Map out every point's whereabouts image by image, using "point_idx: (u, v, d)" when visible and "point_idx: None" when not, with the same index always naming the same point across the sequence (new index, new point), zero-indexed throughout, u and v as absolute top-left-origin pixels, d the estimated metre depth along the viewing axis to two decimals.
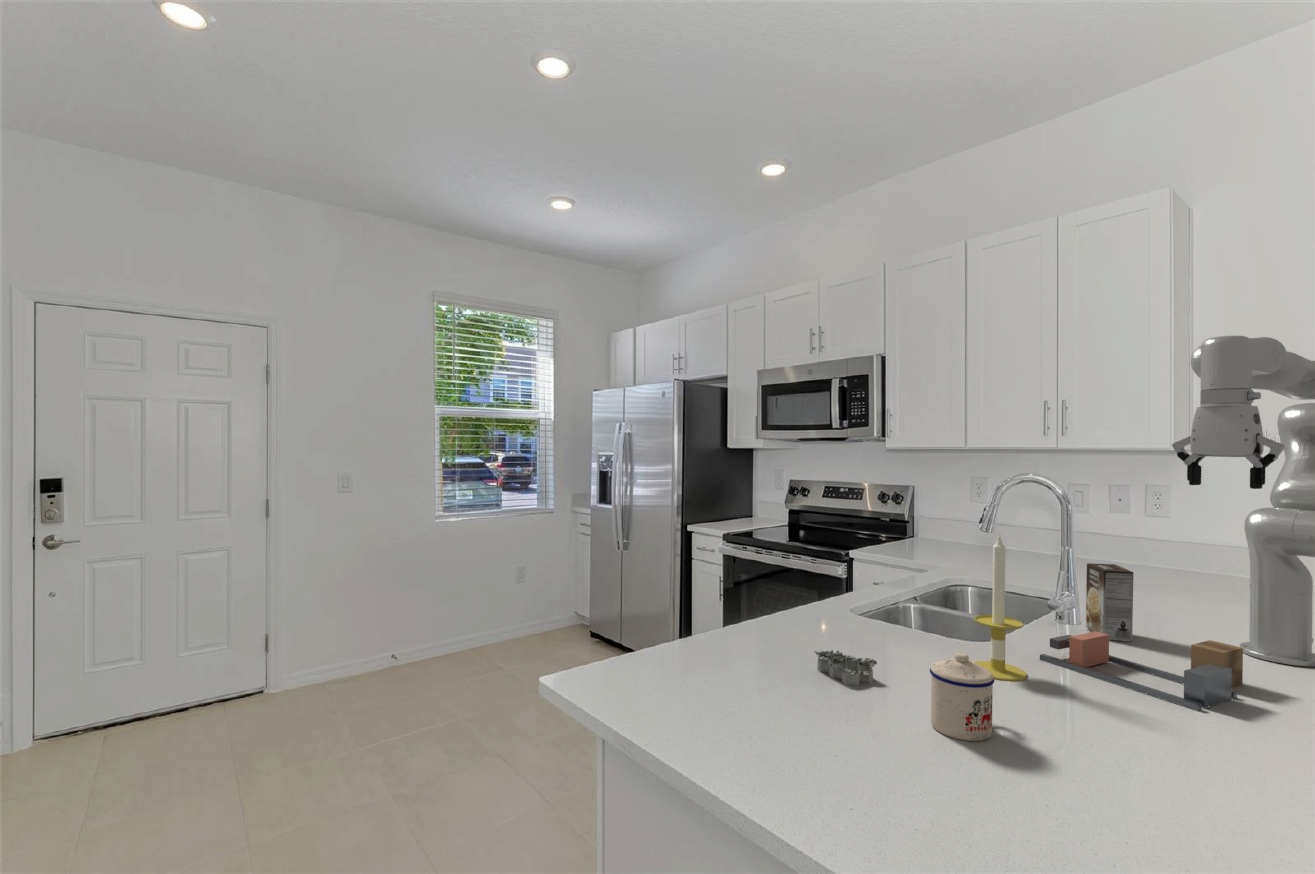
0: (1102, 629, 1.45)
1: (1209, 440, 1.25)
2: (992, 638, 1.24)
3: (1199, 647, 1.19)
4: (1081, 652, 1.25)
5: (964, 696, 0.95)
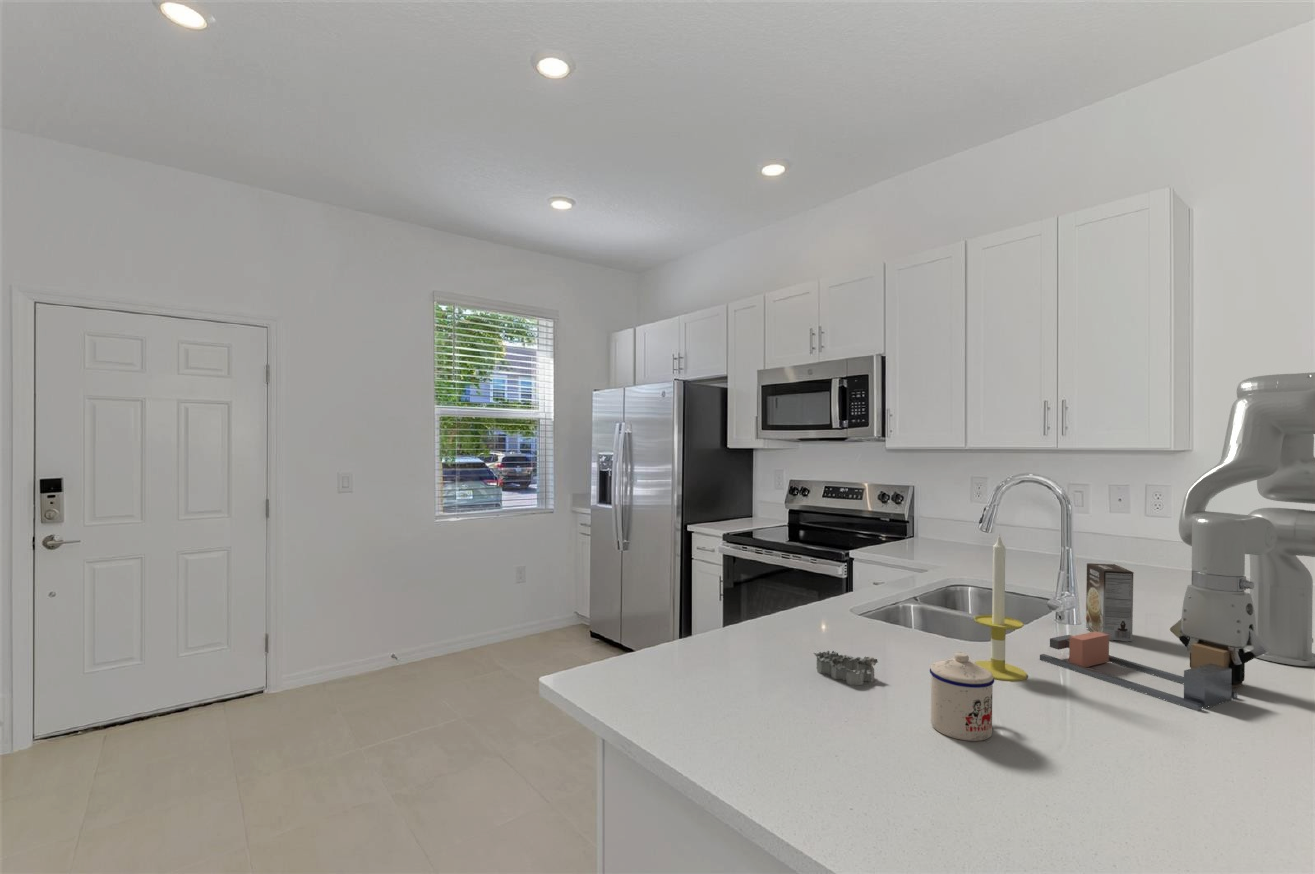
0: (1102, 629, 1.45)
1: (1200, 624, 1.20)
2: (992, 638, 1.24)
3: (1199, 647, 1.19)
4: (1081, 652, 1.25)
5: (964, 696, 0.95)
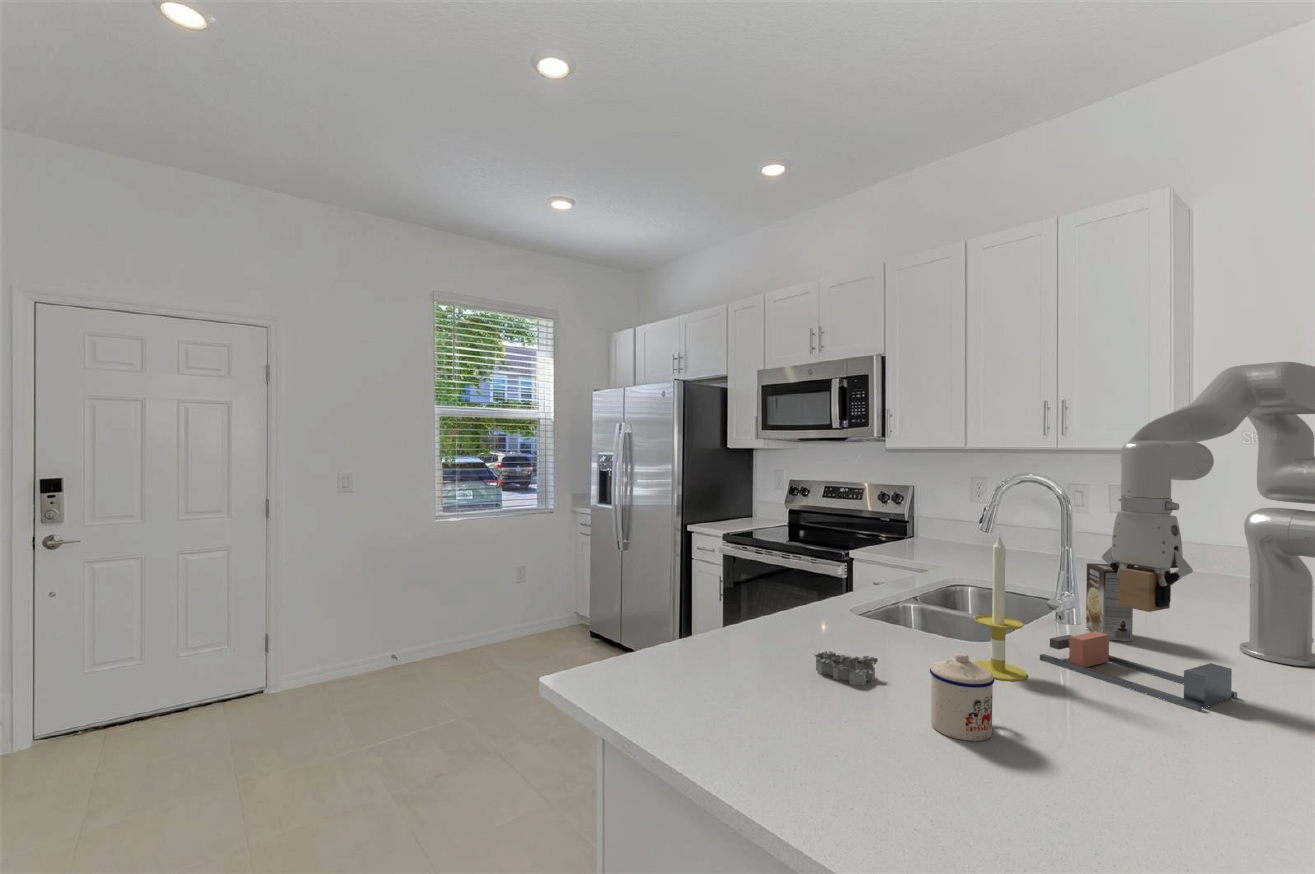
0: (1102, 629, 1.45)
1: (1129, 548, 1.20)
2: (992, 638, 1.24)
3: (1127, 570, 1.19)
4: (1081, 652, 1.25)
5: (964, 696, 0.95)
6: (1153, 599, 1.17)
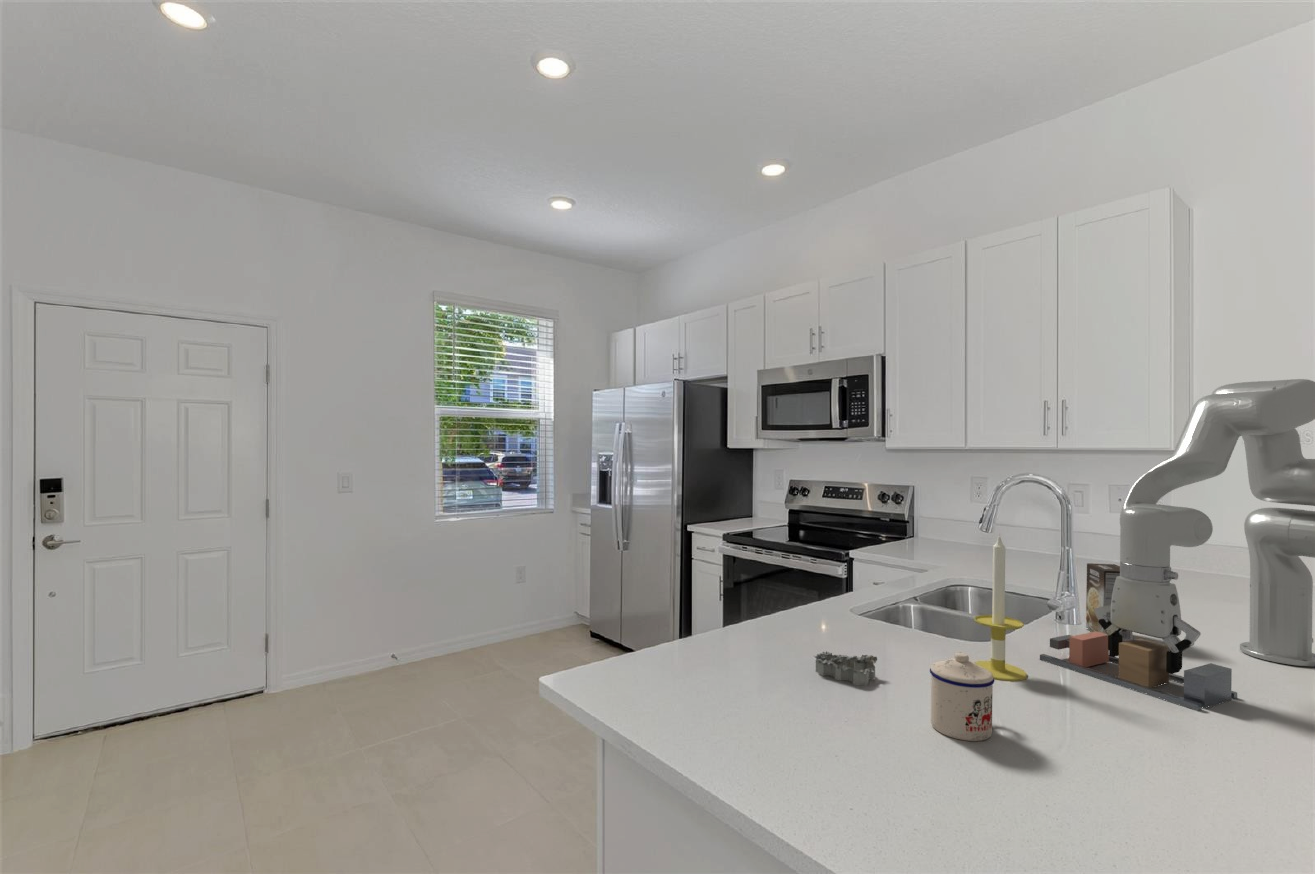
0: (1102, 629, 1.45)
1: (1128, 615, 1.20)
2: (992, 638, 1.24)
3: (1126, 645, 1.19)
4: (1081, 652, 1.25)
5: (964, 696, 0.95)
6: (1152, 676, 1.17)
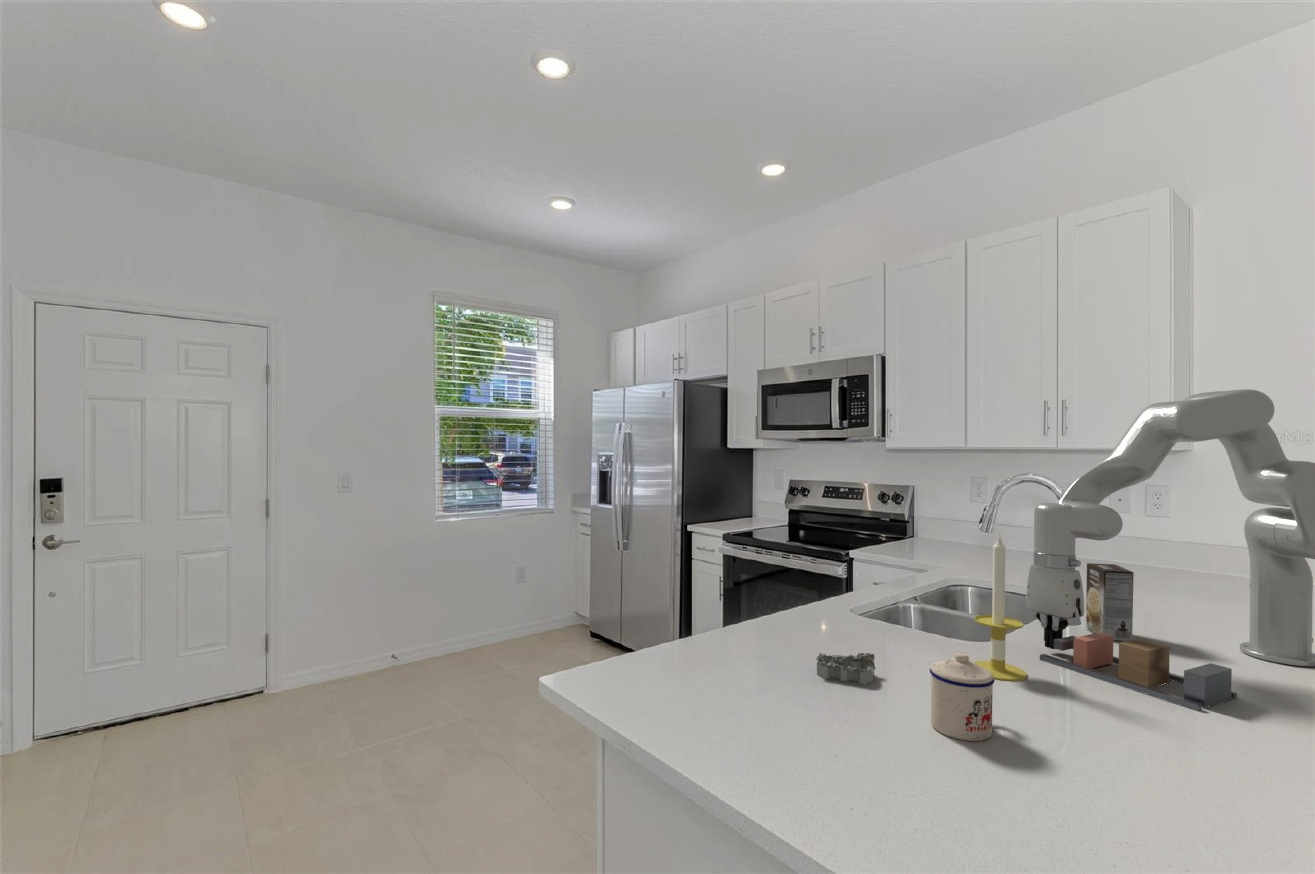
0: (1102, 629, 1.45)
1: (1039, 598, 1.36)
2: (992, 638, 1.24)
3: (1126, 645, 1.19)
4: (1086, 653, 1.25)
5: (964, 696, 0.95)
6: (1152, 676, 1.17)
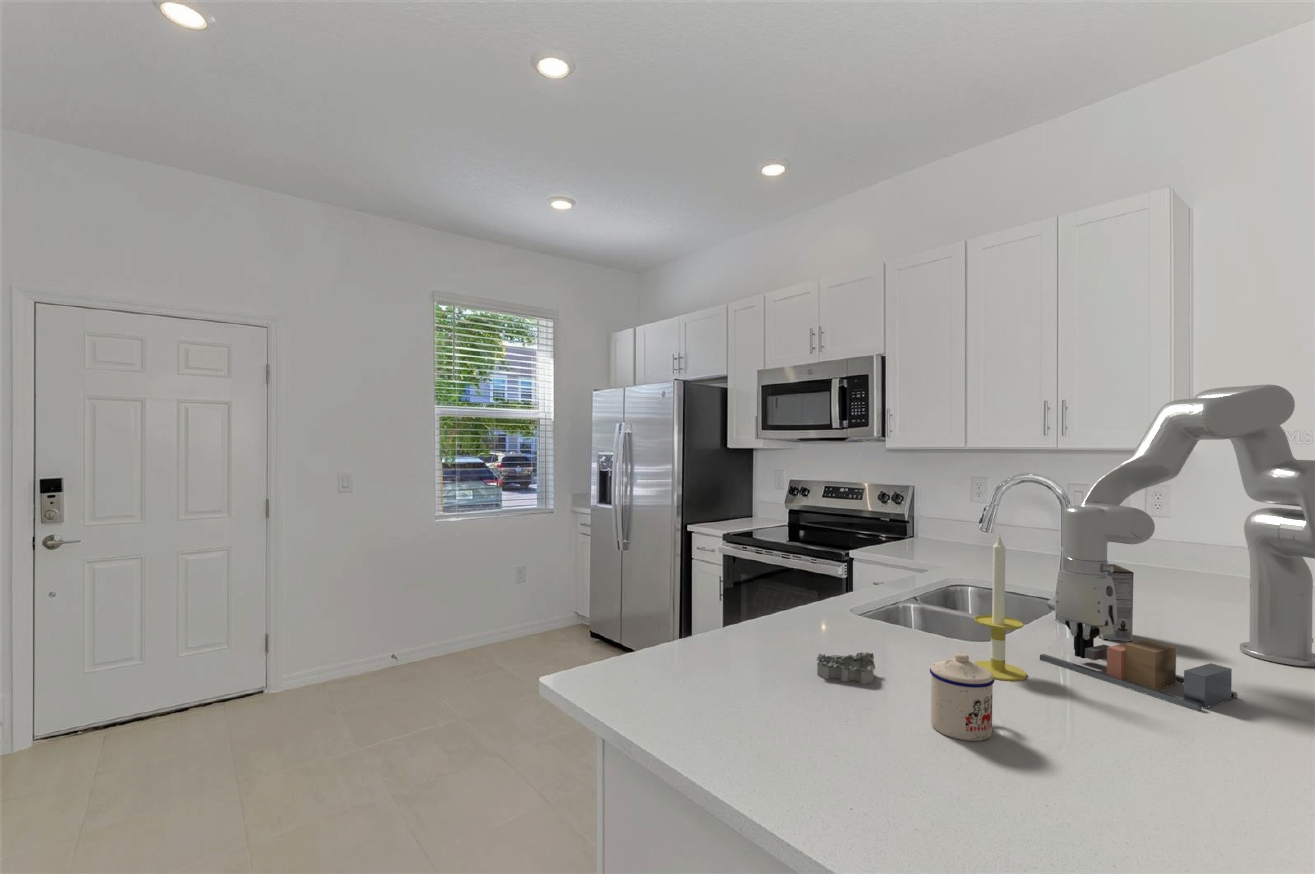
0: None
1: (1069, 605, 1.30)
2: (992, 638, 1.24)
3: (1132, 646, 1.18)
4: (1120, 663, 1.19)
5: (964, 696, 0.95)
6: (1159, 677, 1.16)
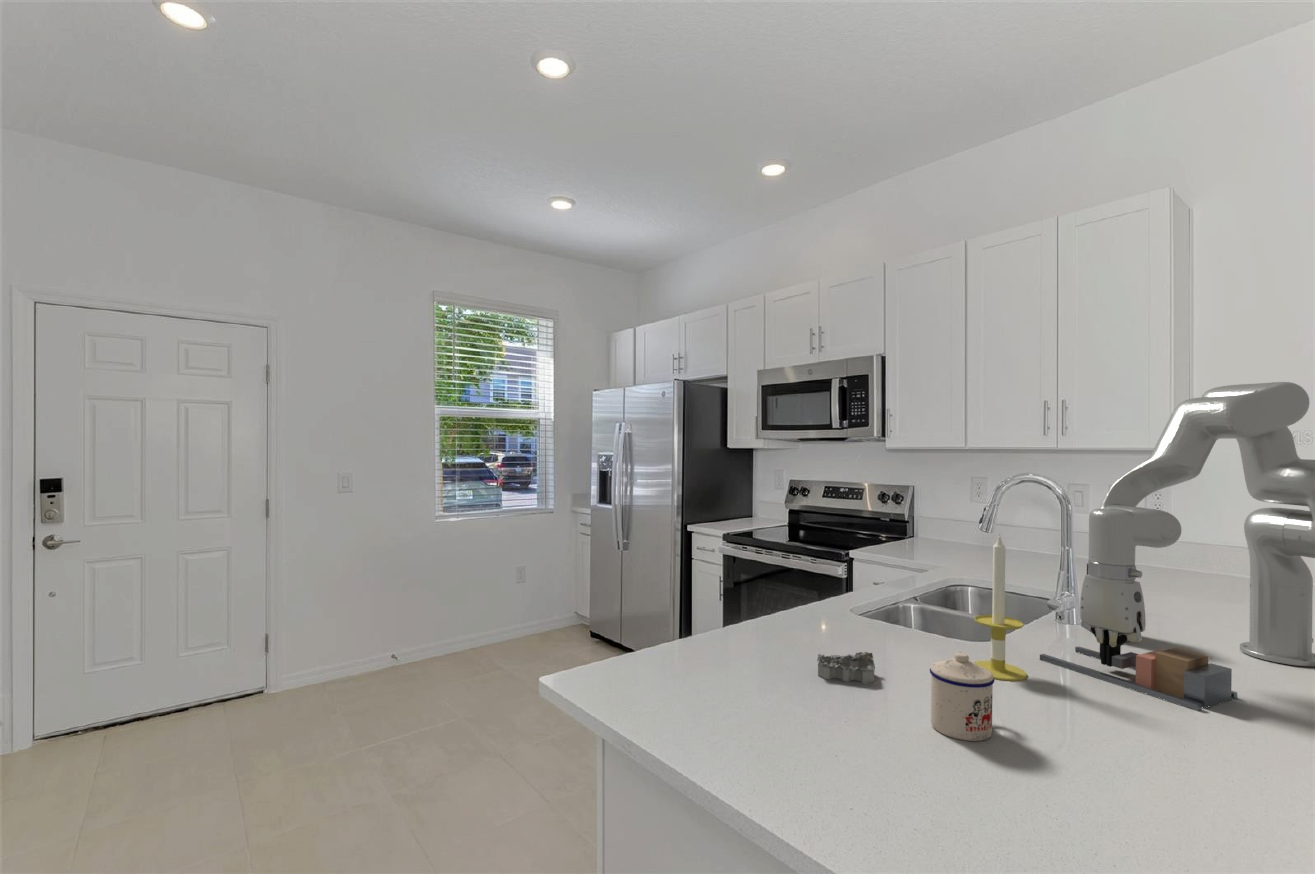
0: None
1: (1095, 611, 1.25)
2: (992, 638, 1.24)
3: (1163, 655, 1.14)
4: (1150, 672, 1.15)
5: (964, 696, 0.95)
6: None
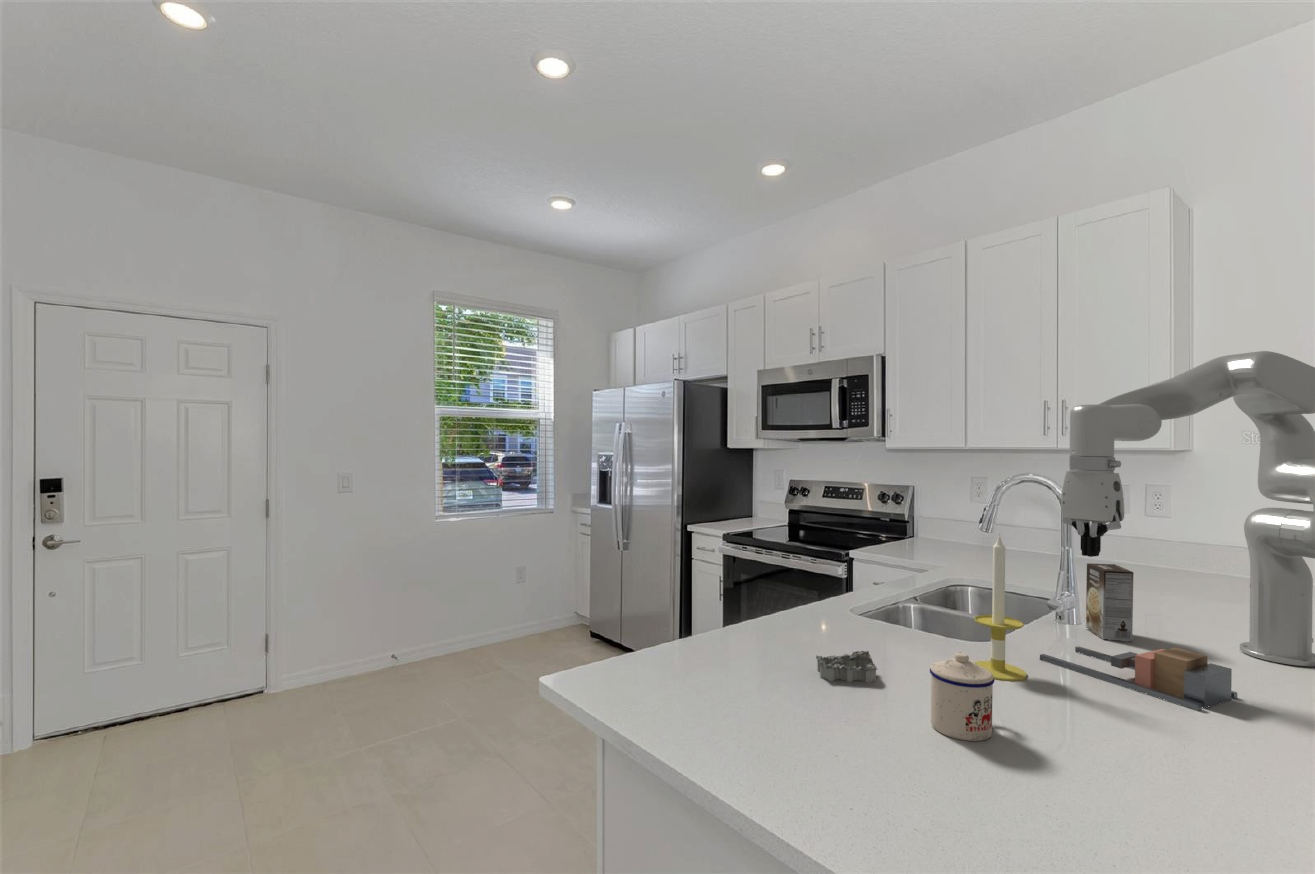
0: (1102, 629, 1.45)
1: (1076, 504, 1.29)
2: (992, 638, 1.24)
3: (1162, 655, 1.14)
4: (1149, 672, 1.15)
5: (964, 696, 0.95)
6: None
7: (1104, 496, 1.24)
